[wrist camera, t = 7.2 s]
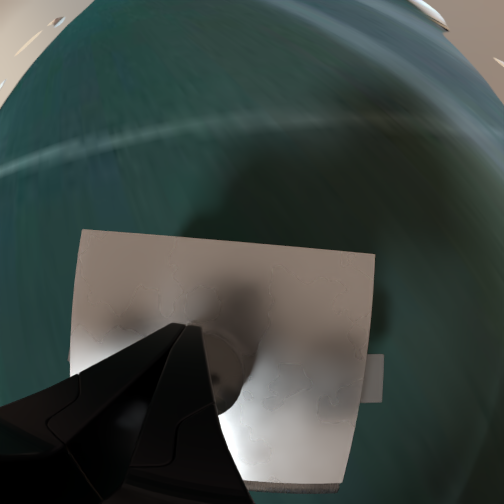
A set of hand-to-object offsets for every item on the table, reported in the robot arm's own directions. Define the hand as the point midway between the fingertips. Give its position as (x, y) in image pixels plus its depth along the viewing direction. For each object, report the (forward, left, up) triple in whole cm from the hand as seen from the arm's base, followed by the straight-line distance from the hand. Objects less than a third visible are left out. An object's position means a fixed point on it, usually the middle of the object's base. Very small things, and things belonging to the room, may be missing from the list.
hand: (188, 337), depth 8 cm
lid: (-1, 0, -4) cm, 4 cm away
